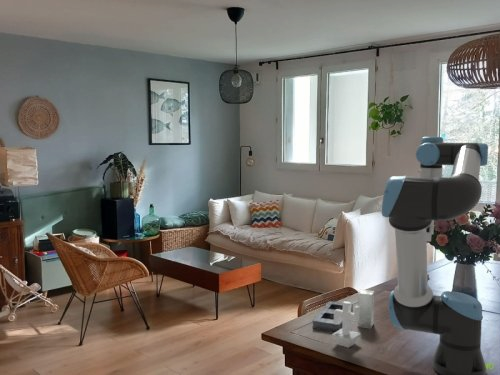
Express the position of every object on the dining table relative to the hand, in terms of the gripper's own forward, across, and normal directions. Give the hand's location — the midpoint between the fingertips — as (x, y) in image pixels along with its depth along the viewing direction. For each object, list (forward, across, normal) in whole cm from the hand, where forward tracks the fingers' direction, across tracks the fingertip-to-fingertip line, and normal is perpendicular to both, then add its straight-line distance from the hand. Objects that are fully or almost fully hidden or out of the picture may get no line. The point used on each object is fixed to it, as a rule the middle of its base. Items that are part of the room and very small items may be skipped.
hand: (428, 237), depth 182 cm
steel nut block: (+35, +5, -21) cm, 41 cm away
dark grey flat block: (+35, +4, -34) cm, 48 cm away
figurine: (+35, +25, -24) cm, 49 cm away
